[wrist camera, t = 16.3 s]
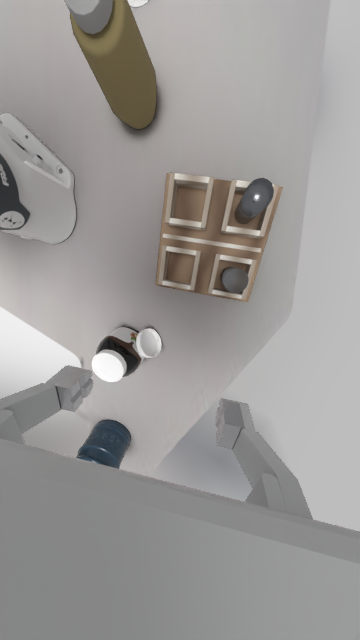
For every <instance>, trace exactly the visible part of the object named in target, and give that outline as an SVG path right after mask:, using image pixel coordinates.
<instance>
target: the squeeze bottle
mask: <svg viewBox="0 0 360 640" xmlns="http://www.w3.org/2000/svg"><path fill="white" fill-rule="evenodd" d="M64 1H65V3H66V5H67V7H68V8H69V10H70V19H71V24H72V29H73V33H74V36H75V38H76V40H77V42H78V44H79V46H80V48H81V50H82V52H83V54H84V56H85V58H86V60H87V62H88V64H89V66H90V68H91V70H92V71H93V73H94V75H95V77H96V79H97V81H98V83H99V85H100V87H101V89H102V91H103V93H104V95H105V97H106V99H107V101H108V103H109V105H110V107H111V109H112V111H113V113H114V114H115V115H116V116H117V117H118V118H119V119H121V120H122V121H123V122H125V123H126V124H128V125H129V126H131V127H133V128H136V129H142V128H146V127H147V126H148V125H149V124H150V123H151V121H152V119H153V117H154V115H155V109H156V91H157V85H156V76H155V70H154V67H153V65H152V62H151V60H150V57H149V55H148V52H147V49H146V47H145V44H144V42H143V39H142V37H141V34H140V31H139V29H138V26H137V24H136V21H135V19H134V16H133V13H132V11H131V8H130V6H129V3H128V1H127V0H64Z"/></svg>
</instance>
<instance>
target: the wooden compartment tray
mask: <svg viewBox="0 0 360 640" xmlns="http://www.w3.org/2000/svg"><path fill="white" fill-rule="evenodd" d="M250 183H251V182H247V181H239V180H232V181H226V180H218V179H214V178H213V177H205V176H196V175H188V174H179V173H171V172H170V174H167V176H166V186H165V196H164V206H163V216H162V226H161V236H160V246H159V255H158V265H157V275H156V285H157V286H162V287H168V288H173V289H179V290H184V291H190V292H195V293H201V294H206V295H211V296H217V297H222V298H228V299H233V300H239V301H244V302H248V300H249V297H250V294H251V290H252V287H253V284H254V280H255V277H256V274H257V270H258V267H259V264H260V261H261V257H262V254H263V251H264V247H265V244H266V241H267V237H268V234H269V231H270V228H271V224H272V221H273V218H274V214H275V211H276V208H277V204H278V201H279V198H280V195H281V191H282V188H283V187H279V185H273V184H272V185H273V188H274V195H273V198H272V201H271V202H270V204H269V205H268V206H267V207H266V208H265V209H264V210H263V211H262V212H260V213H259V214H258V215H257V216H256V217H255V218H254V219H253V220H252V221H251V222H249V223H247V224H239V223H238V222H237V221H236V220H235V217H234V212H235V209H236V207H237V205H238V203H239V202H240V200H241V198H242V196H243V194H244V192H245V190H246V189H247V187H248V185H249V184H250Z"/></svg>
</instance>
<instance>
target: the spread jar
mask: <svg viewBox="0 0 360 640" xmlns="http://www.w3.org/2000/svg"><path fill="white" fill-rule="evenodd" d="M161 347H162V343H161V338H160V336H159V334H158V333H157V332H156V331H155V330H154V329H151V328H147V329H144V330H142V331H140V332H137V331H135V330H133V329H130V328H127V327H120V328H117V329H115V330H114V331H112V332H111V333H110V334H108V335H107V336H106V337H105V338H104V339H103V340H102V341H101V343H100V344H99V346H98V348H97V351H96V355H95V356H94V358H93V359H92V368H93V371H94V372H95V374H96V375H97V376H98V377H99V378H101V379H102V380H104V381H107V382H116V381H118V380H120V379H121V378H122V377H125V376H129V375H130V374H132V373H133V372H134V371H135V370H136V369H137V368H138V367H139V365H140V364H141V363H142V361H143V360H144V358H152V357H156V356H157V355H158V354H159V353H160V351H161Z"/></svg>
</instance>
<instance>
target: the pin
mask: <svg viewBox="0 0 360 640" xmlns="http://www.w3.org/2000/svg"><path fill="white" fill-rule="evenodd" d="M273 195H274V188H273V185H272V183H271V182H270V181H269V180H267V179H265V178H259V179H256V180H254V181H253V182H251V183H250V184H249V185H248V187H247V189H246V190H245V192H244V194H243V196H242V198H241V200H240V202H239V203H238V205H237V207H236V209H235V212H234V217H235V220H236V221H237V222H238V223H239V224H247V223H249V222H251V221H252V220H253V219H254V218H255V217H256V216H257V215H258V214H259V213H260V212H262V211H263V210H264V209H265V208H266V207H267V206H268V205H269V204H270V202H271V201H272V198H273Z"/></svg>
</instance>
